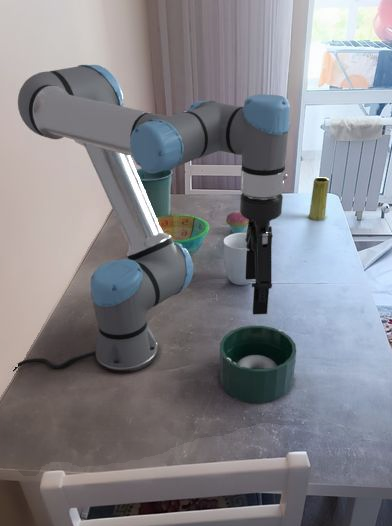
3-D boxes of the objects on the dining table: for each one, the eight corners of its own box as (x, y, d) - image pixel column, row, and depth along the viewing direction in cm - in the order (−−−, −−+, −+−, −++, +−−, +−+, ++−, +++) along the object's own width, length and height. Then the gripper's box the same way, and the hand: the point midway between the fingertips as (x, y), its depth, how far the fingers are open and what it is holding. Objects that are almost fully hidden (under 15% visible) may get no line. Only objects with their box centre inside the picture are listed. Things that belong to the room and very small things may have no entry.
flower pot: (125, 214, 193) (120, 173, 183) (157, 203, 201) (154, 163, 192) (151, 225, 183) (147, 183, 173) (183, 213, 191) (181, 172, 182)
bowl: (171, 278, 150) (169, 249, 144) (130, 255, 163) (126, 227, 157) (223, 255, 161) (223, 227, 155) (180, 235, 175) (179, 209, 169)
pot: (248, 413, 102) (249, 381, 97) (206, 371, 114) (205, 341, 108) (307, 384, 109) (312, 353, 103) (262, 347, 120) (264, 317, 115)
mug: (275, 287, 144) (278, 246, 136) (245, 298, 139) (247, 257, 131) (244, 268, 154) (245, 229, 146) (216, 278, 149) (215, 238, 141)
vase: (326, 220, 182) (331, 182, 173) (310, 220, 182) (314, 182, 173) (323, 213, 186) (328, 176, 178) (307, 214, 187) (311, 177, 178)
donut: (227, 383, 110) (268, 396, 105) (226, 371, 107) (268, 384, 103) (245, 359, 116) (284, 370, 112) (245, 347, 114) (285, 358, 110)
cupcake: (253, 229, 177) (254, 197, 170) (242, 238, 172) (243, 205, 164) (233, 225, 181) (233, 193, 174) (221, 233, 175) (221, 201, 168)
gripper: (295, 220, 76) (283, 329, 89) (272, 170, 96) (265, 265, 109) (248, 222, 76) (243, 330, 89) (234, 171, 96) (232, 266, 109)
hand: (255, 295), depth 99 cm, fingers open, 13 cm apart
